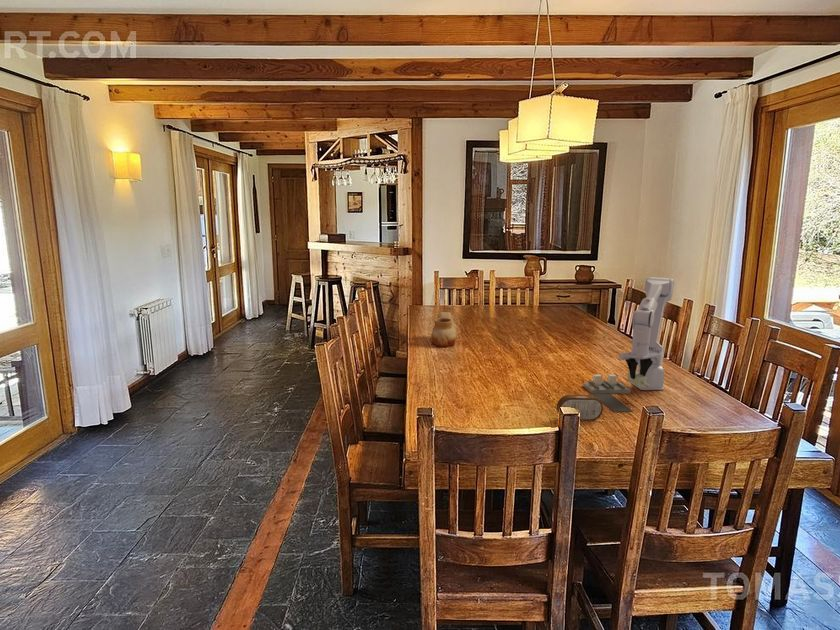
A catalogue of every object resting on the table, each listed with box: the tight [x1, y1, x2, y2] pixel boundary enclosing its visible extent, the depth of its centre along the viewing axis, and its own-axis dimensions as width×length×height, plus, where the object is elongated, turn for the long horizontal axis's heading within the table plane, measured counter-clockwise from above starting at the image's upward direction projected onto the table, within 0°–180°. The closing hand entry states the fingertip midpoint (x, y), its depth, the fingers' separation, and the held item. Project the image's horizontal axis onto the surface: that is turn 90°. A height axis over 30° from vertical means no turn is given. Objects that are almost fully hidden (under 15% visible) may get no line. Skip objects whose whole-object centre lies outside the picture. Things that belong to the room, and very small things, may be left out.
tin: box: [556, 394, 604, 422], centre depth 171 cm, size 15×3×8 cm, turn 92°
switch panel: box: [582, 379, 631, 395], centre depth 202 cm, size 15×9×2 cm, turn 95°
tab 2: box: [606, 374, 618, 385], centre depth 204 cm, size 3×2×4 cm
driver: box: [627, 370, 651, 388], centre depth 189 cm, size 3×13×4 cm, turn 5°
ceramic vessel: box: [430, 311, 459, 349], centre depth 274 cm, size 14×26×15 cm, turn 175°
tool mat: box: [592, 393, 634, 413], centre depth 188 cm, size 7×18×1 cm, turn 5°
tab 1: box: [591, 374, 603, 385], centre depth 203 cm, size 3×2×4 cm
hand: (637, 378), depth 191 cm, fingers closed on driver, 3 cm apart
